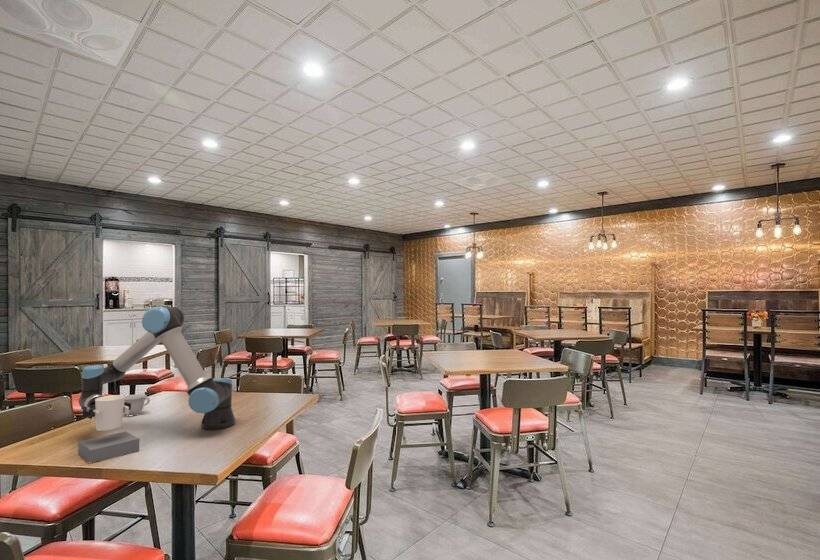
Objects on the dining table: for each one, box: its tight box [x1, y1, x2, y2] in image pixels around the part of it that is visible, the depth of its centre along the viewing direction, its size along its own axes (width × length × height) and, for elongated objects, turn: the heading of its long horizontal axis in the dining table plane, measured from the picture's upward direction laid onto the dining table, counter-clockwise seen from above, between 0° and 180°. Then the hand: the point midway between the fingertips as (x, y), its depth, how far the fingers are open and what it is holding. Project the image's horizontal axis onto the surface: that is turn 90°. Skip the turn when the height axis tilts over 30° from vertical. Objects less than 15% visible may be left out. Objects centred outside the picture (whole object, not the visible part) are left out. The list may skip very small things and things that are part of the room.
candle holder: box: [95, 394, 126, 432], centre depth 160 cm, size 10×10×12 cm
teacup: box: [124, 393, 151, 417], centre depth 215 cm, size 12×15×10 cm
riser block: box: [77, 431, 140, 464], centre depth 159 cm, size 16×16×5 cm
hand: (113, 413), depth 157 cm, fingers closed on candle holder, 9 cm apart
